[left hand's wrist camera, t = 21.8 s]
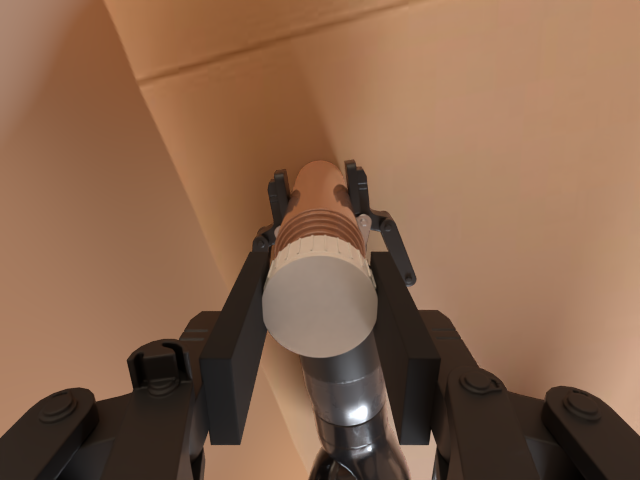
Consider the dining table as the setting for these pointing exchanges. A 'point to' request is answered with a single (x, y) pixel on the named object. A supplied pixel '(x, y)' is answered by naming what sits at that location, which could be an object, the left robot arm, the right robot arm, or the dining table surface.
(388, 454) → the right robot arm
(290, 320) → the cap
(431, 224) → the dining table surface
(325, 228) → the bottle
